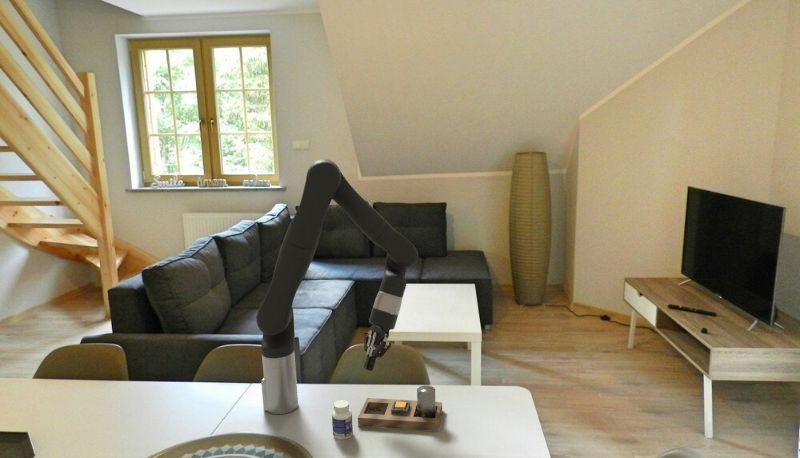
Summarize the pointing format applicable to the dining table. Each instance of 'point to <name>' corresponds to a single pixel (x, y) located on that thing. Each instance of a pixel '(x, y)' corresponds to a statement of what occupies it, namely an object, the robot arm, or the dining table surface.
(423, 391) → the cylinder
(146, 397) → the dining table surface
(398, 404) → the button
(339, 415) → the pill bottle
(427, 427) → the wooden compartment tray
